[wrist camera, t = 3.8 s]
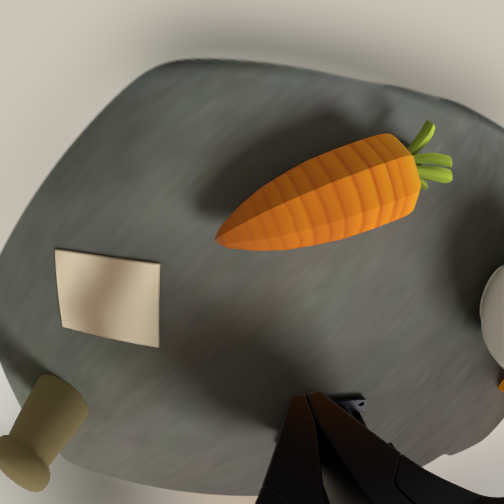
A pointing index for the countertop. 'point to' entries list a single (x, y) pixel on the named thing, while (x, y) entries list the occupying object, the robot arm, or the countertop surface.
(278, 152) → the countertop surface
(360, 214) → the carrot
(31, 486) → the cork
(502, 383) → the orange juice
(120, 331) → the beige rectangular sheet
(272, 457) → the robot arm
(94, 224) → the countertop surface
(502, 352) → the lidded jar
